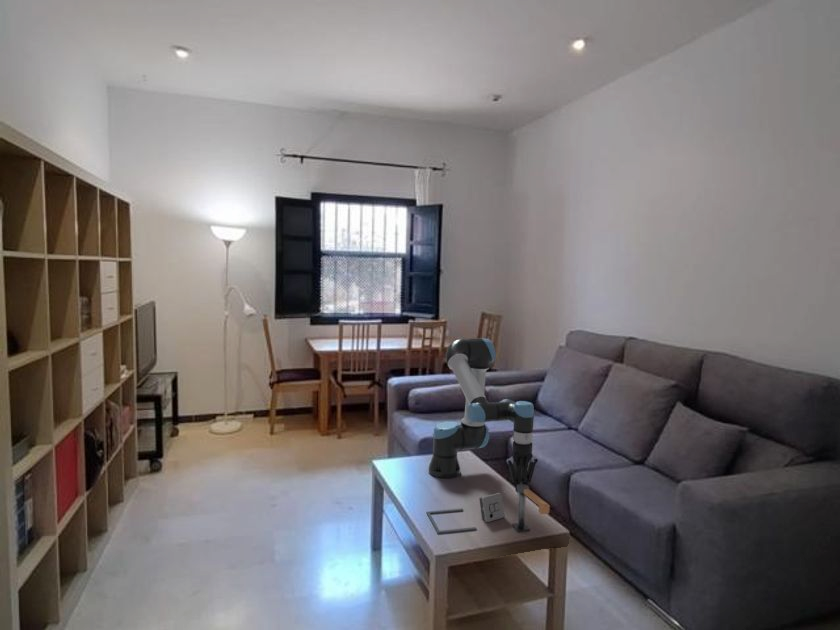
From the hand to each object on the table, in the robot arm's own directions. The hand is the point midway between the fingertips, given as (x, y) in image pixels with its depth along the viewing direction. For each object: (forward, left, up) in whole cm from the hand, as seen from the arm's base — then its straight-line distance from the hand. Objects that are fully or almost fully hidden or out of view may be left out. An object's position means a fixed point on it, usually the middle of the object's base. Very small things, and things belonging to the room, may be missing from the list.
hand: (520, 499), depth 197 cm
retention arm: (+16, -3, +6) cm, 18 cm away
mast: (+10, -4, -6) cm, 12 cm away
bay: (0, -28, -6) cm, 29 cm away
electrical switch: (0, -12, -7) cm, 14 cm away
